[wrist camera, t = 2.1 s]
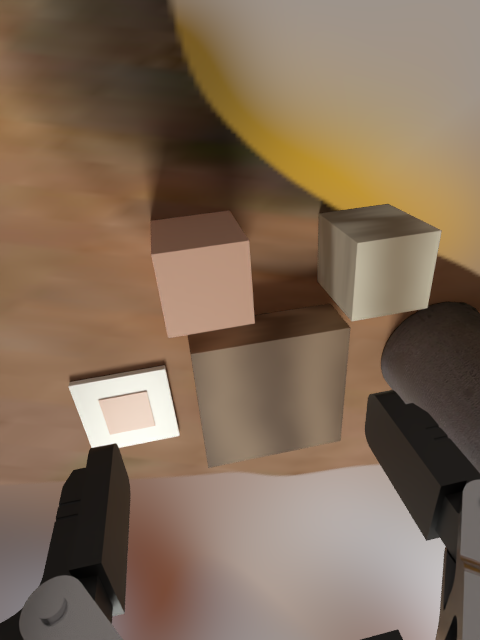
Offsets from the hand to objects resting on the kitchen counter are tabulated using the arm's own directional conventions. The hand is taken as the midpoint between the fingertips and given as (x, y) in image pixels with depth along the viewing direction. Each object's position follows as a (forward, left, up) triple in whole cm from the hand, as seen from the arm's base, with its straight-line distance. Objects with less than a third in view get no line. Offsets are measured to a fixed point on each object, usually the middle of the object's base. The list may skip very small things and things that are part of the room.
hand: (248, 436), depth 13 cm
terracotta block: (0, 0, -17) cm, 17 cm away
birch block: (+11, -1, -17) cm, 20 cm away
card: (-7, -12, -17) cm, 22 cm away
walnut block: (+4, -11, -17) cm, 21 cm away
